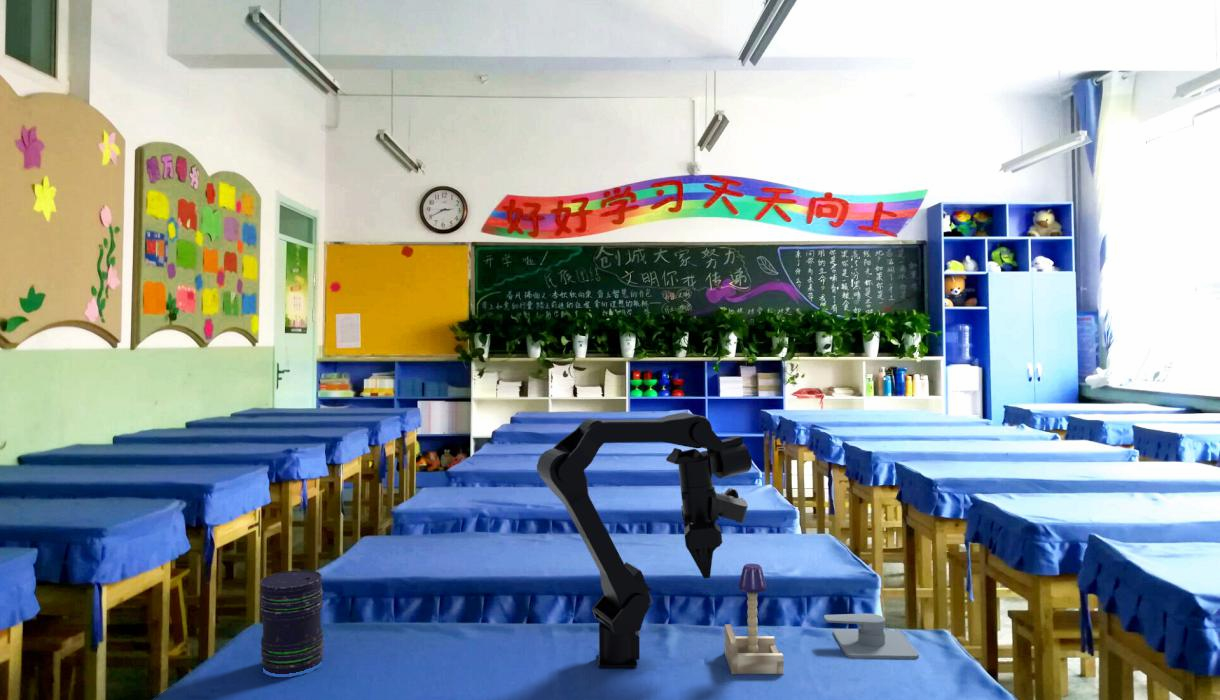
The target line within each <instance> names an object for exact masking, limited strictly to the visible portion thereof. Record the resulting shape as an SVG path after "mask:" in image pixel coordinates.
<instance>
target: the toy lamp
mask: <svg viewBox="0 0 1220 700" xmlns="http://www.w3.org/2000/svg"><path fill="white" fill-rule="evenodd" d="M738 589H739V590H740V591H742V592H745V593H746V596H747V598H748V599H747V602H746V604H747V612H746V613H747V620H746V621H747V622H746V623H747V633H748V635H747V636H748V643H749V645H748V651H749V652H746V653H758V645H757V643H758V637H757V636H758V633H759V628H758V623H759V622H758V617H757V616H758V608H757V607H758V600H757V598H758V595H759V594H758V593H764V592H766V591H767V583H766V579H765V576H764V571H763V569H762V566H761V565H760V564H757V563H746V564H744V565H743V567H742V571H741V575H740V579H739V582H738Z"/></svg>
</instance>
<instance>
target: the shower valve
mask: <svg viewBox="0 0 1220 700" xmlns="http://www.w3.org/2000/svg"><path fill="white" fill-rule="evenodd" d="M823 618H824V621H825V622H826V623H830V624H831V623H833V624H834V623H835V624H848V625H849V624H850V625H851V624H853V625H854V624H856V625H857V626H858V627H859V628H856V629H854V628H851V629H850V628H835V629H833V630H832V635H833V636H834V638H835V639H836V641H837V643H838V644H839V646H840V648H841V650H842V651H843V654H844V655H845V656H846V657H847V658H850V659H891V660H892V659H896V660H897V659H900V660H903V659H904V660H916V659H917V660H918V659H919V658H920V653H919V652H918V651H917V650H916V648H915V647H914V646H913V645H912V643H910V641H909V640H908V639H907V637H906V636H905V635H904V634H903V632H902V631H901V630H898V631H892V630H893V629H885V628H886V618H885V617H884V616H882V615H880V614H875V613H847V614H846V613H845V614H844V613H843V614H842V613H841V614H824V616H823Z"/></svg>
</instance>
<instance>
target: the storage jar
mask: <svg viewBox="0 0 1220 700" xmlns="http://www.w3.org/2000/svg"><path fill="white" fill-rule="evenodd" d="M322 578H323V575H322V574H321V573H320V572H319V571H315V570H307V569H301V570H299V569H297V570H287V571H281V572H277V573H273V574H270V575H267V576H265V577H264V578H262V579H261V580H260V588H261V589H260V596H259V599H260V600H259V601H260V603H259V604H260V615H261V617H262V636H261V638H260V639H261V641H260V645H261V646H260V647H261V648H260V655H261V662H262V666H263V668H264V669H265V670H266V671H268V672H270V673H275V674H289V673H296V672H300V671H304V670H306V669H309V668H312V667H314V666H316V665H318V664H319V663H320V662H321V661H322V658H323V654H324V653H323V652H324V651H323V649H324V631H323V629H322V616H321V614H322V611H321V610H322V609H323V604H324V602H323V598H324V597H323V596H324V594H323V593H324V590H323V585H322V580H323V579H322Z"/></svg>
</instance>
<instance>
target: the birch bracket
mask: <svg viewBox="0 0 1220 700" xmlns="http://www.w3.org/2000/svg"><path fill="white" fill-rule="evenodd" d="M757 637H758V643H757V645H758V653H746V652H749V651H748V645H749V643H748V635H747V636H746V635H744V636H743V635H742V636H741V635H738V636H736V635H735V633H734V630H733V628H732V625H731V624H730V623H729V624H724V654H725V658H726V660H727V664H728V668H729V670H730V672H731V675H739V674H740V675H741V674H743V675H745V674H746V675H747V674H748V675H749V674H757V675H758V674H767V675H769V674H771V675H773V674H774V675H784V672H785V671H784V669H785V668H784V666H785V665H784V663H785V661H784V654H783V653H782V652H779V650H778V647H777V646H776V638H775V636H773V635H772V636H771V635H770V636H769V635H764V636H763V635H762V636H761V635H760V636H759V635H757Z"/></svg>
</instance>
